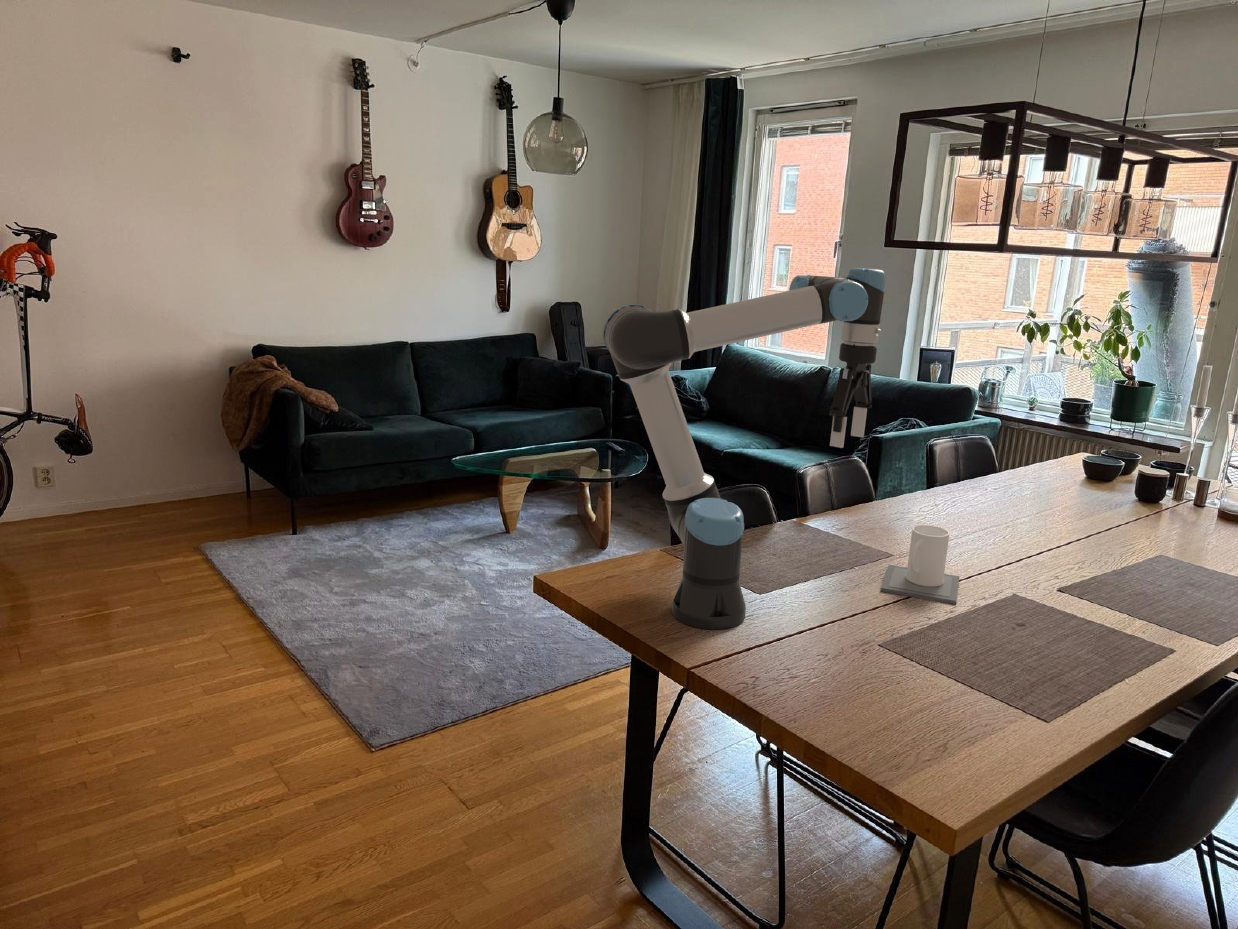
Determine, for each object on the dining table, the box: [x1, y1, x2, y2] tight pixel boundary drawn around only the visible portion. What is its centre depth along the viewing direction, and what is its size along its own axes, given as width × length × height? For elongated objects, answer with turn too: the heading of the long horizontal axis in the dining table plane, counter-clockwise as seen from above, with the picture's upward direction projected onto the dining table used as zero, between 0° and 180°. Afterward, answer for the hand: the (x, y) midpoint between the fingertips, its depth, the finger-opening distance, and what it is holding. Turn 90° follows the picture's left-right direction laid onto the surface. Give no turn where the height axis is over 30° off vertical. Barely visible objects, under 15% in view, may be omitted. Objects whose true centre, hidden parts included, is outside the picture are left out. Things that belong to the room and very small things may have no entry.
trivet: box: [880, 564, 960, 605], centre depth 203 cm, size 16×16×1 cm
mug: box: [905, 524, 950, 587], centre depth 201 cm, size 12×8×12 cm
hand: (847, 441), depth 192 cm, fingers open, 13 cm apart
